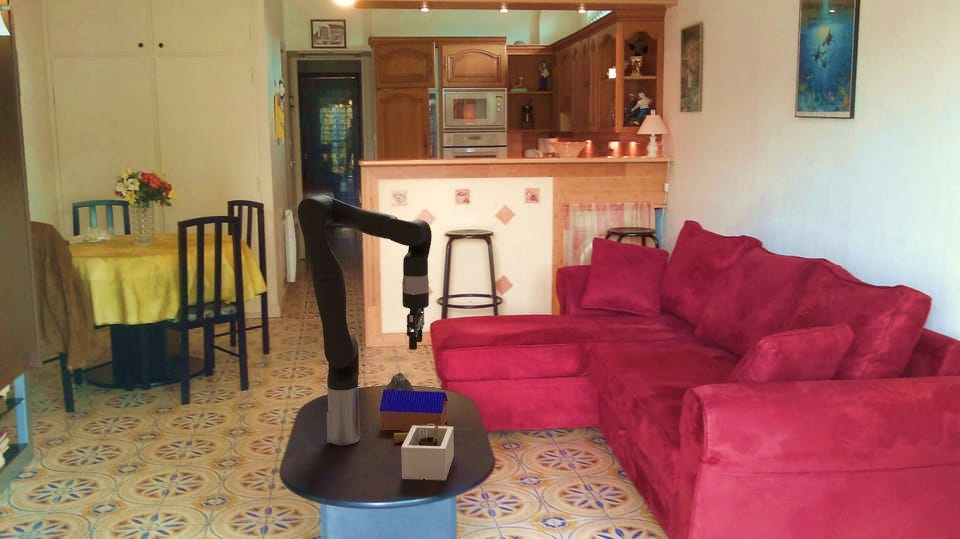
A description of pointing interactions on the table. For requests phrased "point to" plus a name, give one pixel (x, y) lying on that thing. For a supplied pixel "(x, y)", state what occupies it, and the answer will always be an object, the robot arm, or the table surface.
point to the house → (412, 409)
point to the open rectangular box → (427, 454)
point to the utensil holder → (429, 438)
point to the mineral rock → (399, 383)
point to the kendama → (402, 436)
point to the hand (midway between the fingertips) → (415, 345)
